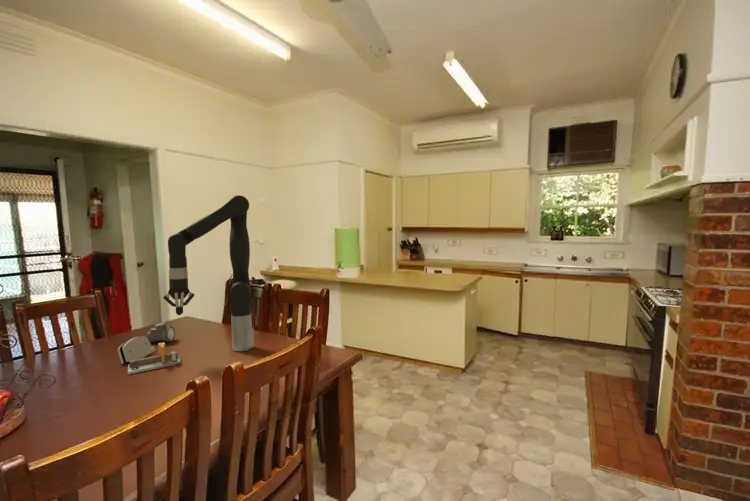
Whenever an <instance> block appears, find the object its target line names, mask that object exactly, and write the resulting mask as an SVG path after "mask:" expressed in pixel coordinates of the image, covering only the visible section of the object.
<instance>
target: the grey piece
mask: <svg viewBox="0 0 750 501" xmlns="http://www.w3.org/2000/svg"><path fill="white" fill-rule="evenodd" d="M164 360H165V362H163V363H162V357H161V356H159V354H158V355H154V356H148V357H147V356H146V357H144V358H142V359H137V360H131V361H128V363H129V364H128V365H127V376H129V375H135V374H137V373H138V374H139V372H140V373H144V371H145V372H148V371H154V370H158V369H163V368H168V367H173V366H177V365H181V364H182V361H181V357H180V355H179V353H178V351H171V352H170V353H166V355H164Z"/></svg>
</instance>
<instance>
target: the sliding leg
mask: <svg viewBox="0 0 750 501" xmlns="http://www.w3.org/2000/svg"><path fill="white" fill-rule="evenodd" d="M165 342H166V341H165ZM165 342H158V348H157V349H158V355H159V356H161V357H162V363H163V362H165V360H164V355H166V354H167V353H166V343H165Z"/></svg>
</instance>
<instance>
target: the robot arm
mask: <svg viewBox="0 0 750 501" xmlns="http://www.w3.org/2000/svg"><path fill="white" fill-rule="evenodd" d="M249 209H250V201H249V200H248V199H247V198H246V197H245V196H243V195H240V194H239V195H234V196H232V197H231V198H230V199H229V200H228V201H227V202H226V203H225V204H223V205H222V206H221V207H219V208H217V210H215V211H213V212H211V213H209V214H207V215H205V216H203V217H201V218H199V219H198V220H196V221H194V222H192V223H191V224H190V225H188V226H187V227H185V228H184V229H182V230H179V231H178V232H176V233H174V234H171V235H170V236H169V237H168V239H167V249H168V255H169V259H168V262H169V264H168V266H169V270H168V283H169V284H168V285H169V286H168V288H169V289H168V291H167V293H166V294H164V295H163V300H165V301H166V302H167V303H168V304H169V305H170V306H171V307H175V314H176V315H177V316H181V315H183V313H184V306H187V305H188V304H189V303H190V302H191V300H193V298H194V297H195V293H194V292H191V291H190V289H189V272H188V263H187V262H188V260H187V258H188V257H187V254H186V251H187V250H186V247H187V246H188V245H189V244H191V243H192V242H194V241H195V240H197V239H200V238H201V237H203V236H205V235H206V234H208V233H210V232H212V231H213V230H214V229H216V228H217V227H218V226H220V225H221V224H223V223H225V222H226V221H228V220H230V233H229V244H228V245H229V259H230V264H231V268H232V285H231V287H230V289H229V305H230V316H231V317H230V319H231V341H232V342H231V343H232V344H231V345H232V351H235V352H245V351H247V352H248V351H250V350H251V349H252V348H255V341H254V340H255V337H254V335H255V334H254V332H255V330H254V327H252V325H253V324H252V305H251V302H252V301H251V293H252V288H251V282H250V274H249V272H250V271H249V270H250V268H249V267H250V258H251V257H250V255H251V252H250V251H251V248H250V247H251V246H250V236H249V231H248V224H247V223H248V222H247V219H248V217H247V216H248V210H249ZM187 296H188V297H187ZM186 297H187V298H186ZM170 298H171V299H173V300H174V302H173V301H172V300H171V299H170ZM185 298H186V300H184V299H185Z"/></svg>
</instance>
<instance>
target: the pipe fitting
mask: <svg viewBox="0 0 750 501" xmlns="http://www.w3.org/2000/svg"><path fill="white" fill-rule="evenodd" d="M146 337H147V338H148V340H149V342H150V343H157V342H163V341H165V342H166V343H167V342H168V343H171V342H173V341H174V340H175V337H176V332H175V328H174V326H172V325H168V326H167V322H166V321H162V322H158V323H155V324H154V327H152V328H150V329H149V331H148V332H147V333H146Z"/></svg>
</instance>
